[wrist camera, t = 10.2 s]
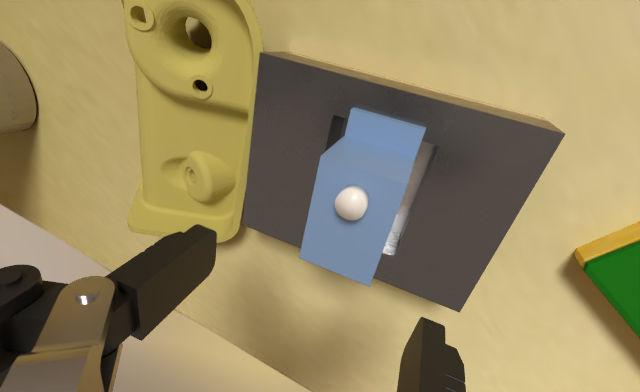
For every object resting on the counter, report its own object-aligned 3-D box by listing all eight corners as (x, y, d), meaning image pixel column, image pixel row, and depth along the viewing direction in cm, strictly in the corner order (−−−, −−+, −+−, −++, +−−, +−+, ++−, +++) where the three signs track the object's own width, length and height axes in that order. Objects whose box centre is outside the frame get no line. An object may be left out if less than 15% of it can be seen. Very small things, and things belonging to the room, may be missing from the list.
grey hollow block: (267, 202, 27) (242, 224, 24) (289, 51, 22) (259, 52, 18) (457, 274, 24) (459, 312, 20) (543, 117, 18) (565, 133, 15)
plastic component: (236, 247, 28) (109, 229, 25) (246, 196, 34) (144, 178, 31) (280, -21, 17) (62, -90, 14) (283, -25, 22) (130, -75, 20)
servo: (334, 218, 24) (288, 287, 17) (365, 99, 20) (321, 127, 13) (385, 236, 23) (358, 317, 16) (428, 117, 19) (418, 157, 12)
